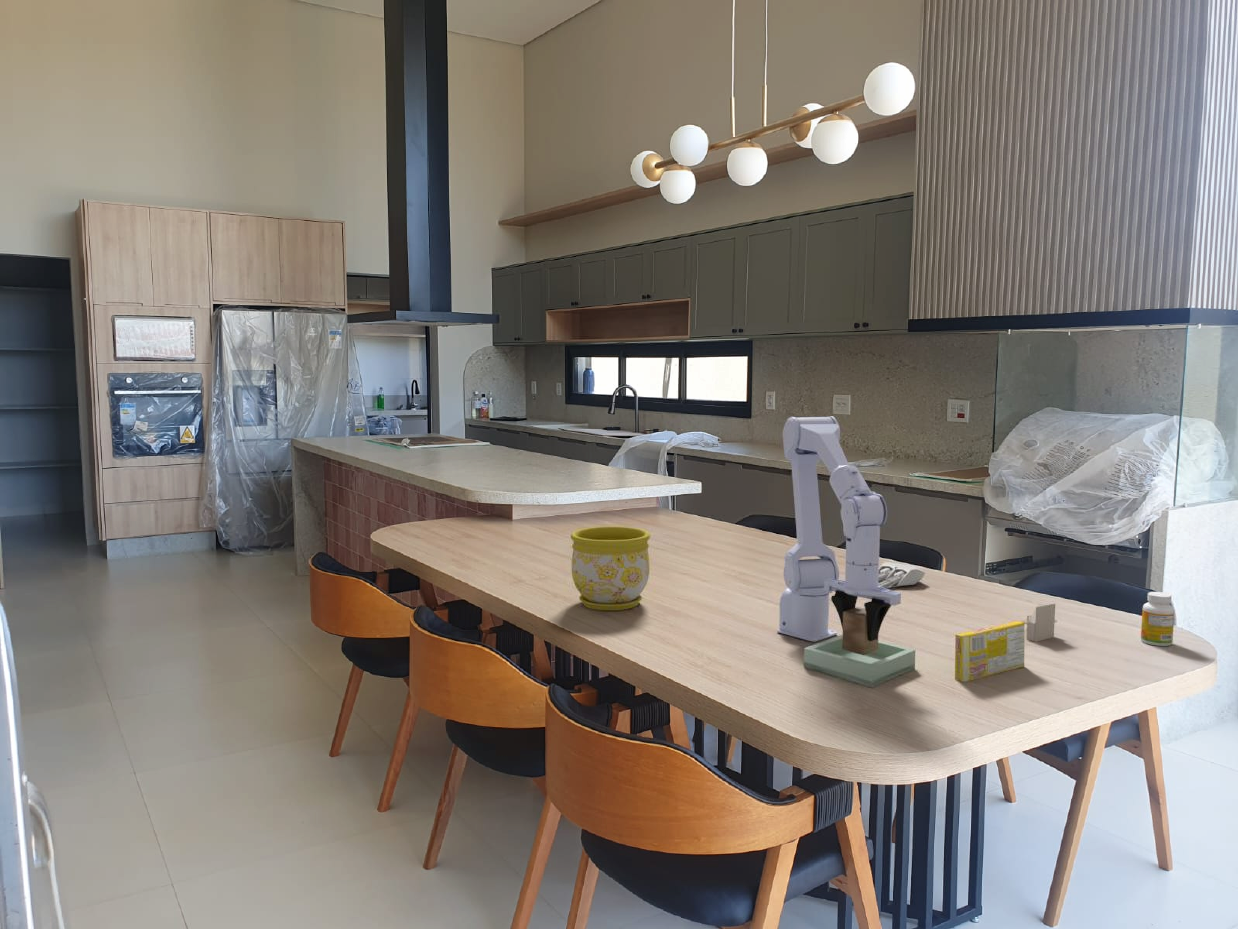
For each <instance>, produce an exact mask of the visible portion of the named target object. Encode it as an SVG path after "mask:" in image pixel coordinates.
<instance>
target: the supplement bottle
mask: <svg viewBox="0 0 1238 929" xmlns="http://www.w3.org/2000/svg"><path fill="white" fill-rule="evenodd" d="M1172 596H1173V595H1171V594H1170V593H1167V592H1162V591H1150V592H1147V598H1146V599H1147V601H1148V602H1146V603H1144V604H1143V605H1142V610H1141V611H1142V614H1141V626H1140V627H1141V629H1140V641H1141V642H1143V643H1145V644H1147V645H1149V646H1157V647H1169V646H1172V645H1173V641H1174V625H1175V612H1176V611H1175V608H1174V607H1173V606H1172V605H1171V603H1172Z"/></svg>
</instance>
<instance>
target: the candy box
mask: <svg viewBox="0 0 1238 929" xmlns="http://www.w3.org/2000/svg"><path fill="white" fill-rule="evenodd" d="M1025 625H1026V624H1025V623H1024V622H1021V621H1019V620H1016V621H1012V622H1006V623H1003V624H1002V623H1001V624H996V625H993V626H989V627H985V628H979V629H974V630H971V631H970V630H969V631H967V632H961V633H958V634H955V640H954V642H955V644H954V645H955V648H954V649H955V650H954V651H955V652H954V654H955V656H954V660H955V662H954V680H956V681H959V682H961V683H964V681H965V682H968V681H972V680H977V679H981V678H985V677H988V676H992V675H997V674H1001V673H1005V672H1008V671H1009V672H1010V671H1012V670H1017V669H1020V668H1025Z"/></svg>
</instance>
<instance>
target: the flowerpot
mask: <svg viewBox="0 0 1238 929" xmlns="http://www.w3.org/2000/svg"><path fill="white" fill-rule="evenodd" d="M650 538H651V534H650V533H649V531H647V530H645V529H642V528H636V527H630V526H611V525H609V526H594V527H593V526H591V527H586V528H585V527H584V528H579V529H576V530H574V531H573V532H571V534H570V539H571V540H572V541H573V544H572V556H571V576H572V581H573V583H574V585H575V588H576V589H577V591H578V592H579V594H581V595H580V596H578V599H579V601H580V602H582V604H583V606H585V607H586V608H588V609H591V610H595V609H597V611H603V610H617V611H624V610H623V609H625V610H629V608H630V609H632V608H634V607H636V606H638V604H639V602H641V600H642V599H643V597H642V595H641V594H642V593H643V591H644V589H645V588H646V586H647V584H648V580H649V578H650V556H649V543H648V541H649V540H650Z"/></svg>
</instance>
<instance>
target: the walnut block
mask: <svg viewBox="0 0 1238 929" xmlns="http://www.w3.org/2000/svg"><path fill="white" fill-rule="evenodd" d="M842 635H843V640H842V650H846V651H850V652H853V653H857V654H861V655H866V654H869V653H871V652H874V651H877V650H878V640H879V637H878V638H877V639H876V640H873V641H868V637H867V615H866V610H865V607H858V606H855V608H853V609H850V610H847V611H844V612H843V629H842Z"/></svg>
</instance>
